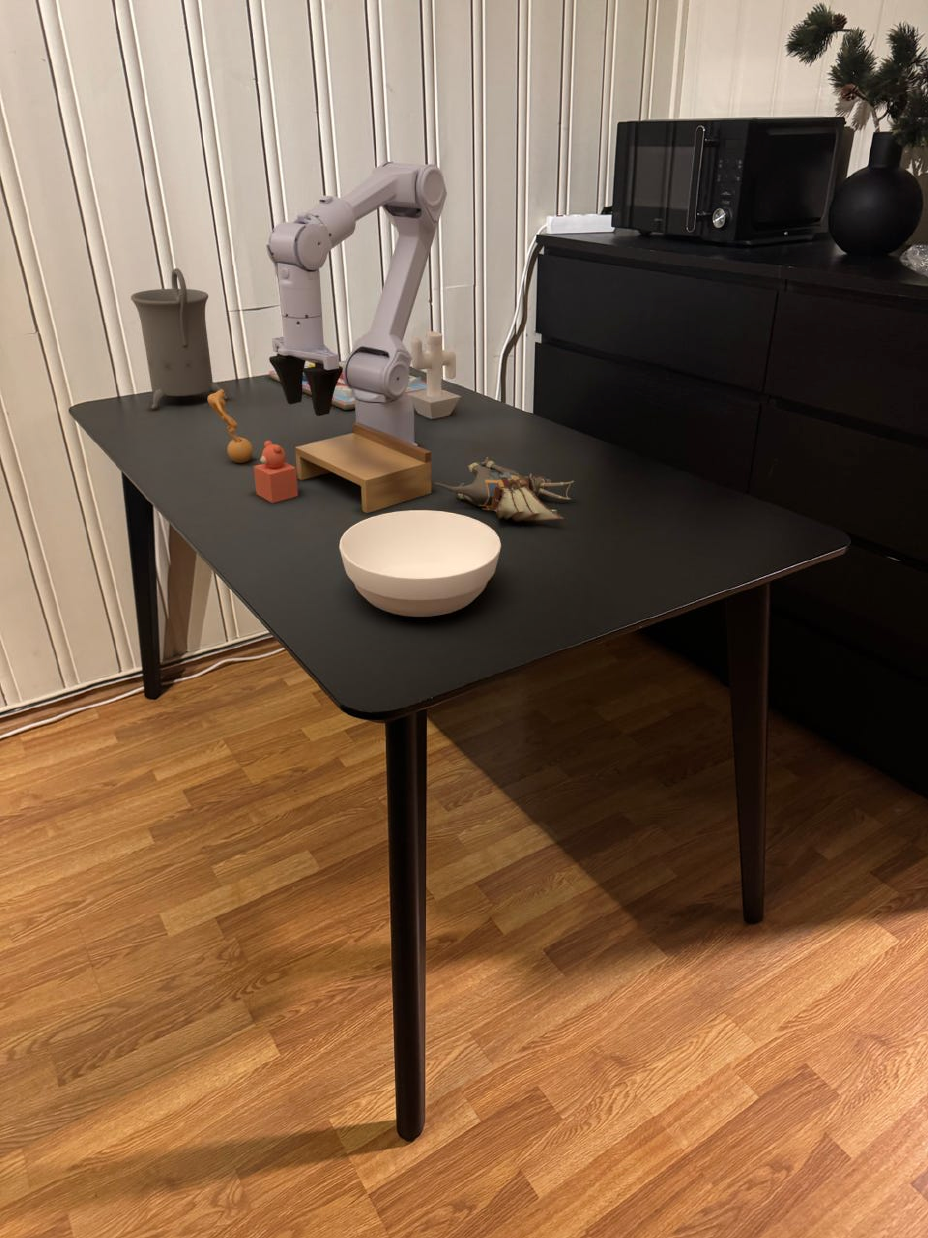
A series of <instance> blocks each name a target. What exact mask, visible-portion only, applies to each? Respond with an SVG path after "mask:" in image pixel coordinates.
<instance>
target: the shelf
mask: <svg viewBox="0 0 928 1238" xmlns="http://www.w3.org/2000/svg"><path fill="white" fill-rule="evenodd" d="M294 452H295V462H296V476H297V479H298V480H300V481H304V480H309V479H311V478H314V477H318V476H322V475H326V474H330V473H333V474H335V475H337V476H339V477H342V478H343V479H345V480H347V481H350V482H352V483H354V484H355V485H358V486H360V489H361V490H360V491H361V511H362V512H364V513H366V514H370V513H373V512H376V511H380V510H382V509H385V508H386V509H387V508H388V507H392V506H396V505H398V504H401V503H405V502H408V501H411V500H414V499H417V498H421V497H423V496H426V495H430V494H432V450H428V449H426V448H423V447H420V446H418V445H417V446H416V445H414V444H411V443H409V442H406V441H404V440H401V439H399V438H396V437H394V436H391V435H389V434H386V433H384V432H381V431H379V430H376V429H374V428H371V427H369V426H366V425H364V424H361V423H359V422H358V423H356V422H354V423H352V432H351V433H347V434H343V435H339V436H335V437H329V438H327V439H326V438H325V439H323V440H318V441H314V442H310V443H306V444H303V445H298V446H295V447H294Z"/></svg>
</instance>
